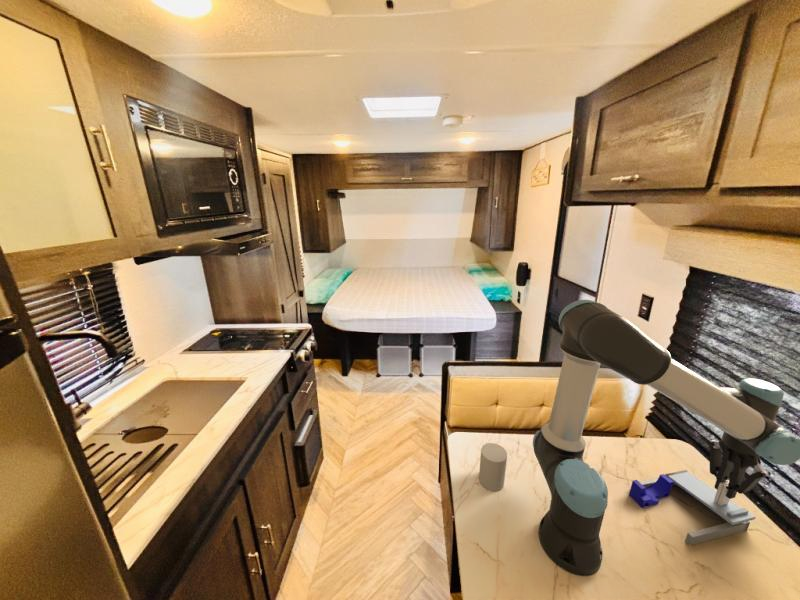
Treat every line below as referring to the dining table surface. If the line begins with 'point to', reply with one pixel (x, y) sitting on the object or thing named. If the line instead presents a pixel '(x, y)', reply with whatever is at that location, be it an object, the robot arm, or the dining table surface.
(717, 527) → the gray u-shaped frame
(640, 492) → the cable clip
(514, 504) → the dining table surface
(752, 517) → the cover
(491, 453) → the gray solid cylinder
